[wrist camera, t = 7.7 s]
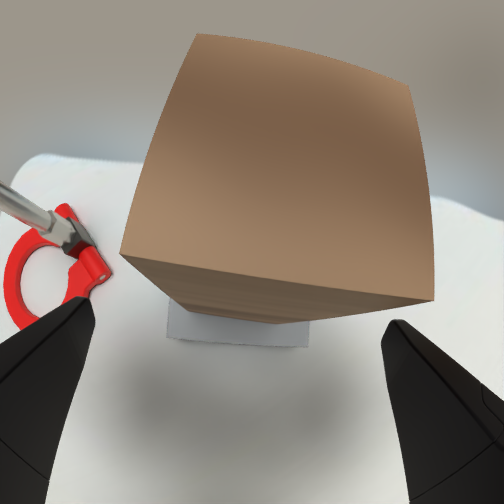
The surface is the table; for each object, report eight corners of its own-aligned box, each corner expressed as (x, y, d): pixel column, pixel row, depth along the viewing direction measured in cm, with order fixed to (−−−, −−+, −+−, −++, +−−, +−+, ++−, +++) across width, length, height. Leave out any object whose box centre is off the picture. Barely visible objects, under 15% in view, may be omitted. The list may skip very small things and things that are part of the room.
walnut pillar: (277, 324, 17) (434, 300, 4) (187, 311, 16) (119, 253, 4) (286, 239, 18) (408, 85, 6) (202, 225, 18) (196, 33, 5)
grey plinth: (294, 344, 21) (308, 346, 17) (178, 336, 20) (166, 337, 16) (298, 233, 23) (311, 214, 19) (189, 225, 22) (181, 204, 18)
